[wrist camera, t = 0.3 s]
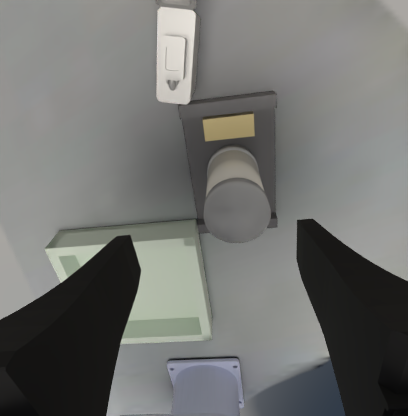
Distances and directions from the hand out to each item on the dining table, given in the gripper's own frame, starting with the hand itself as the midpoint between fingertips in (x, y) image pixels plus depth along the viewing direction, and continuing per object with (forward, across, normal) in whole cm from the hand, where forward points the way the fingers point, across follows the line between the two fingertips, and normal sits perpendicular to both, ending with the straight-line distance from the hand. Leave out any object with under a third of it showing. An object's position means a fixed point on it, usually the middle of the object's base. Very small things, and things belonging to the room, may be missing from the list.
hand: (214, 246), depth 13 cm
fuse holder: (+10, -1, 0) cm, 10 cm away
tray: (+10, +8, +10) cm, 16 cm away
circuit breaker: (+10, +1, -9) cm, 13 cm away
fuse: (+10, -1, 0) cm, 10 cm away
